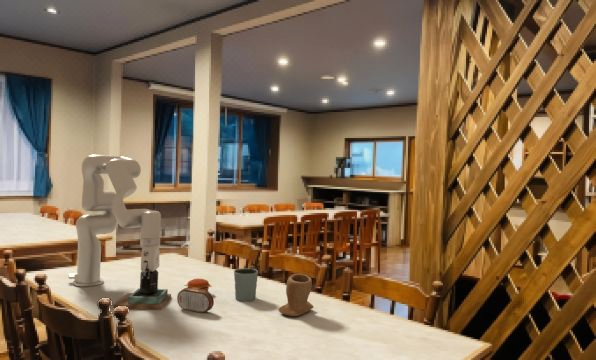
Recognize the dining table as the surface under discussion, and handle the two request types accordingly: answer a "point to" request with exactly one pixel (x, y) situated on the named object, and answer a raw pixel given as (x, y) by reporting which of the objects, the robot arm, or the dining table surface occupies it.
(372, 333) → the dining table surface
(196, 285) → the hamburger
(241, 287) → the grey cup
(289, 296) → the stone cup
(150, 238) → the robot arm
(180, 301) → the tin
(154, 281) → the supplement bottle
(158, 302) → the socket board
